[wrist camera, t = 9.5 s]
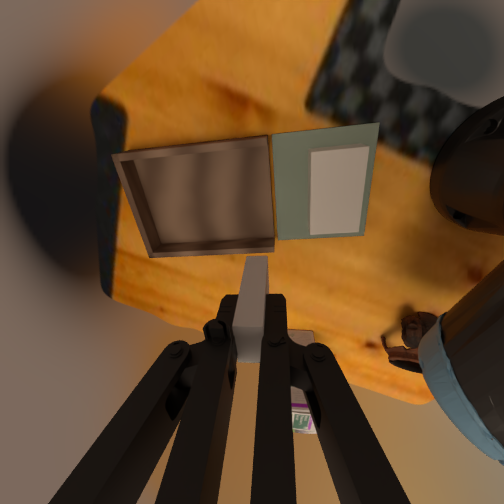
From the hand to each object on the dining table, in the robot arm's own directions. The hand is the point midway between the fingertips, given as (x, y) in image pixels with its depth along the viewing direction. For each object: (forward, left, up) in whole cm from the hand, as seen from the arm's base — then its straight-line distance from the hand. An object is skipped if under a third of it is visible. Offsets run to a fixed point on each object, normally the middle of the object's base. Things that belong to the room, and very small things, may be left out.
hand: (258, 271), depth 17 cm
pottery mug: (-23, +25, -18) cm, 38 cm away
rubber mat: (-7, -1, -17) cm, 19 cm away
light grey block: (-8, -1, -17) cm, 19 cm away
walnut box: (+8, -1, -17) cm, 19 cm away
